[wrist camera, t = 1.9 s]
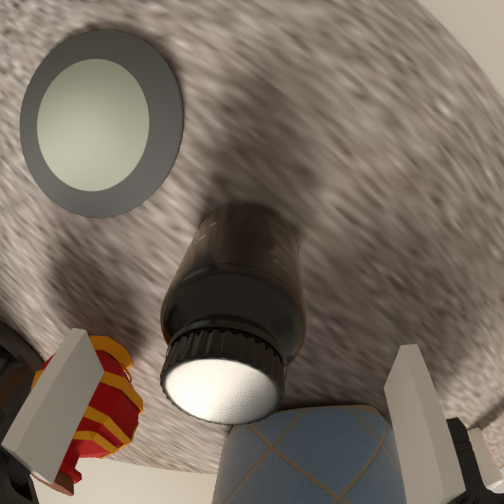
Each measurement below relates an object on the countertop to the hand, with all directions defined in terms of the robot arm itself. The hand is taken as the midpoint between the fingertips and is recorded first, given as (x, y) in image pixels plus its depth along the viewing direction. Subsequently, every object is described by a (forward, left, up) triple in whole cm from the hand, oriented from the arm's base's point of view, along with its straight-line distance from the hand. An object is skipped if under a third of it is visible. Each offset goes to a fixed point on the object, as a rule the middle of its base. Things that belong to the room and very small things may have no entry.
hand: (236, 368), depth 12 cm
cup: (+34, -33, -11) cm, 48 cm away
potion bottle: (-14, -12, -11) cm, 22 cm away
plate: (-10, +9, -11) cm, 17 cm away
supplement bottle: (0, 0, -11) cm, 11 cm away
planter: (+7, -27, -11) cm, 30 cm away
